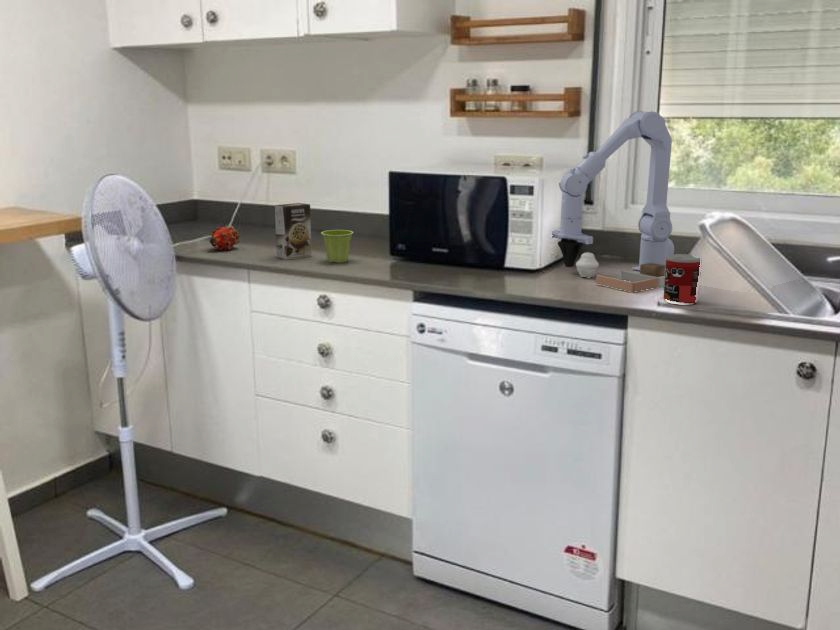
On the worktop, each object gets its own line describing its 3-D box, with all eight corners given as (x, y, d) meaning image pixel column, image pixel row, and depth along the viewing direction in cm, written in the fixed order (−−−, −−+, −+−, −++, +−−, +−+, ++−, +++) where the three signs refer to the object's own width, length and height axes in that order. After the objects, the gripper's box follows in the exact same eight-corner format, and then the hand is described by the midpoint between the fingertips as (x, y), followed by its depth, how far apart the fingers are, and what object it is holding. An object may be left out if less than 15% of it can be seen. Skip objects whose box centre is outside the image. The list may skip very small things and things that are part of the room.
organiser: (646, 274, 234) (646, 265, 233) (682, 282, 224) (683, 273, 224) (596, 284, 222) (596, 275, 221) (632, 293, 212) (633, 283, 212)
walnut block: (650, 279, 229) (651, 262, 228) (663, 281, 225) (665, 265, 224) (639, 281, 226) (640, 264, 225) (653, 284, 223) (654, 267, 222)
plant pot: (358, 262, 252) (358, 233, 250) (329, 265, 248) (328, 235, 245) (346, 257, 260) (345, 228, 258) (317, 259, 256) (316, 231, 253)
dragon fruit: (241, 251, 278) (215, 263, 268) (223, 235, 279) (197, 245, 270) (249, 232, 273) (224, 243, 263) (231, 216, 274) (205, 226, 265)
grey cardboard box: (286, 260, 255) (284, 206, 251) (276, 257, 260) (273, 204, 256) (312, 256, 261) (310, 204, 257) (301, 253, 266) (299, 202, 262)
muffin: (593, 280, 227) (594, 254, 225) (571, 277, 230) (573, 252, 228) (601, 276, 232) (602, 251, 230) (580, 273, 235) (581, 249, 233)
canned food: (658, 298, 207) (661, 254, 204) (690, 297, 207) (694, 253, 205) (669, 306, 199) (673, 260, 197) (702, 305, 200) (706, 259, 197)
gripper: (542, 215, 235) (540, 264, 239) (581, 222, 224) (578, 272, 228) (560, 213, 239) (558, 261, 243) (599, 219, 228) (596, 269, 232)
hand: (569, 266), depth 236 cm, fingers closed
